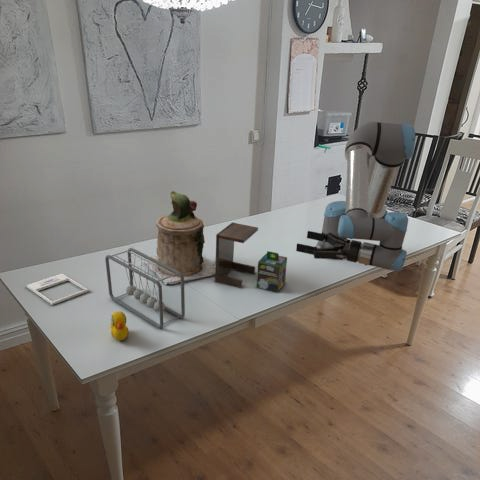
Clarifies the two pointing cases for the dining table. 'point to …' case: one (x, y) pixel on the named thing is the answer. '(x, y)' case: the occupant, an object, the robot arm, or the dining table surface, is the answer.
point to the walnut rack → (231, 252)
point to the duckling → (119, 326)
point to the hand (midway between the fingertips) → (302, 240)
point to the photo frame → (51, 282)
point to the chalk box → (271, 271)
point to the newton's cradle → (140, 294)
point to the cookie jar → (181, 243)
